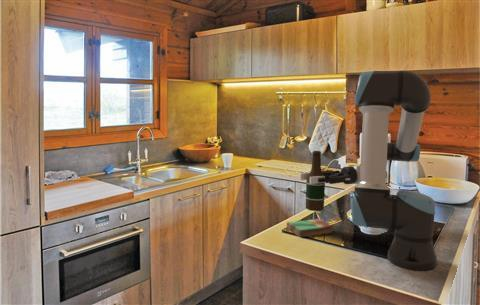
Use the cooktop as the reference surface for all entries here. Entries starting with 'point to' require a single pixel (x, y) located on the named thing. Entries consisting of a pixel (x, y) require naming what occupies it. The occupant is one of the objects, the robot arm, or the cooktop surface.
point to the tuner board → (309, 227)
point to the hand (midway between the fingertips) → (305, 178)
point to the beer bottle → (315, 185)
